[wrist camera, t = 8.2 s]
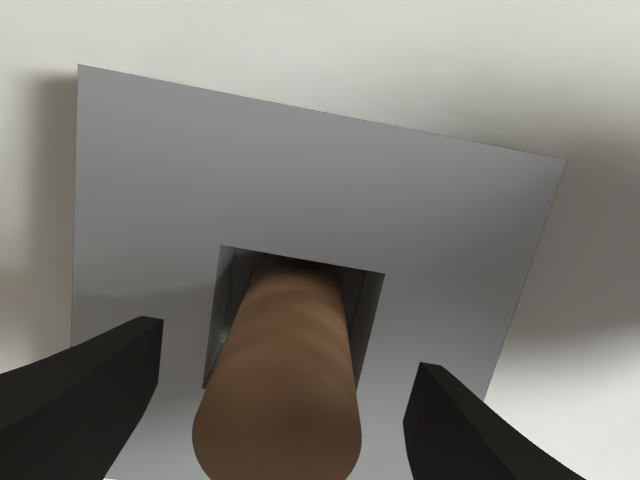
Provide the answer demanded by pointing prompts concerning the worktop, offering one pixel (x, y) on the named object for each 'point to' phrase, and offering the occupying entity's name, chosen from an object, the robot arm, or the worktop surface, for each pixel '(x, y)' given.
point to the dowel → (282, 382)
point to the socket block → (293, 244)
